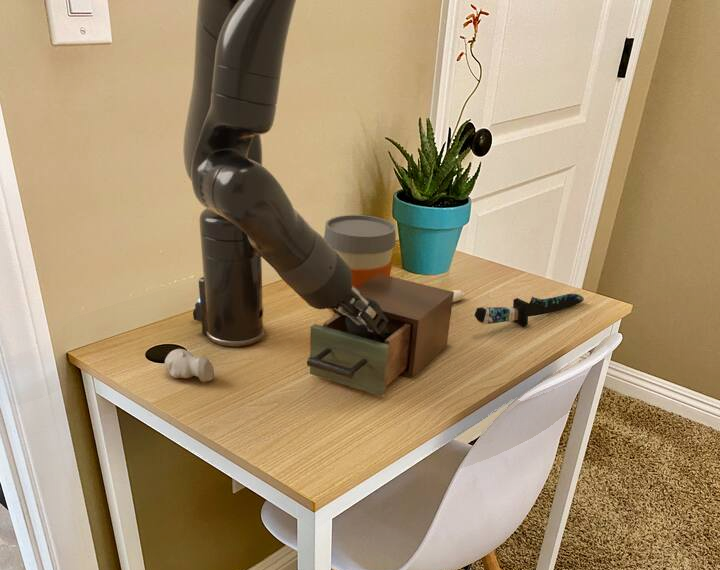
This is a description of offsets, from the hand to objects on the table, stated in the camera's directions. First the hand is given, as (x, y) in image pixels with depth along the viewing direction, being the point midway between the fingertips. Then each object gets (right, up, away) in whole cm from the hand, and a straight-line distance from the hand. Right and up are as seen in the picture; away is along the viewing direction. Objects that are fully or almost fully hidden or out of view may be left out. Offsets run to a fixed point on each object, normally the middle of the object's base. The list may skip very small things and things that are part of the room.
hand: (371, 329), depth 112 cm
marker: (+11, +9, +27) cm, 30 cm away
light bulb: (-2, -5, +2) cm, 5 cm away
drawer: (-2, -7, +2) cm, 7 cm away
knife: (+30, +7, +25) cm, 39 cm away
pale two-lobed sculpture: (-28, -7, 0) cm, 29 cm away
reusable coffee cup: (-2, +9, +25) cm, 27 cm away
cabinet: (+4, -1, +11) cm, 12 cm away
